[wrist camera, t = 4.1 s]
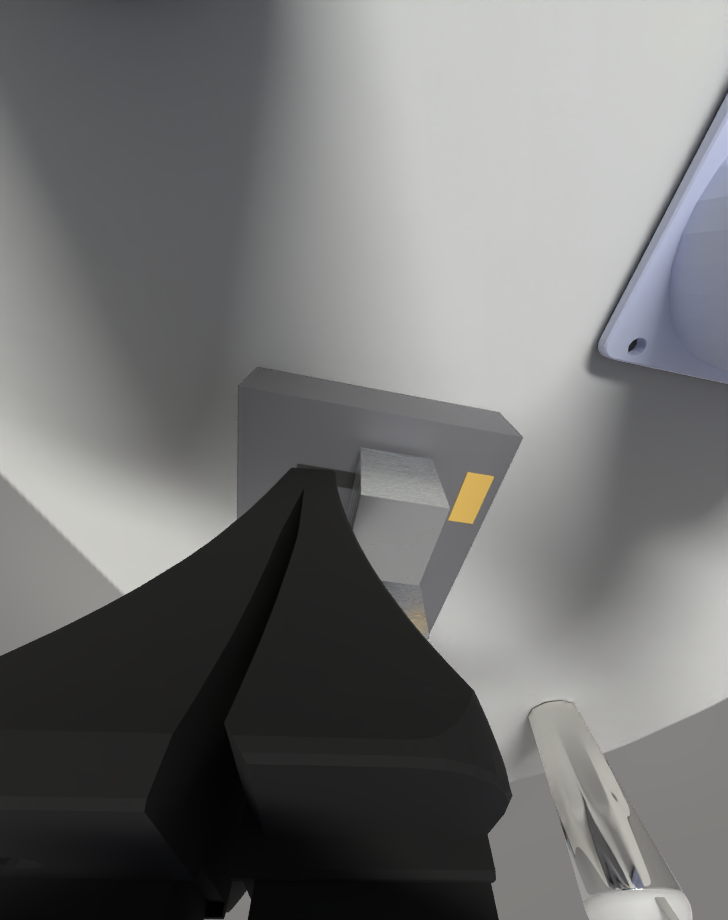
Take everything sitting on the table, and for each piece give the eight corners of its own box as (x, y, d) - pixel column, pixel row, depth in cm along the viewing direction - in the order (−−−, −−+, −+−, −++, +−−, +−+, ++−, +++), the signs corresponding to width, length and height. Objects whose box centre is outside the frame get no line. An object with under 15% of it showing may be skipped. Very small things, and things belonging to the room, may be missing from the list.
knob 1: (432, 459, 10) (450, 508, 8) (408, 528, 12) (419, 585, 10) (361, 447, 10) (361, 494, 8) (345, 519, 11) (341, 575, 9)
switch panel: (499, 412, 12) (523, 438, 10) (398, 652, 19) (401, 692, 18) (257, 367, 11) (237, 386, 9) (247, 637, 18) (235, 676, 17)
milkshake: (603, 689, 21) (767, 975, 13) (573, 728, 24) (691, 987, 15) (533, 687, 21) (651, 975, 13) (510, 727, 24) (594, 987, 15)
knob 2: (418, 575, 13) (429, 635, 11) (400, 620, 14) (406, 681, 12) (361, 567, 13) (361, 627, 10) (348, 614, 14) (346, 675, 12)
